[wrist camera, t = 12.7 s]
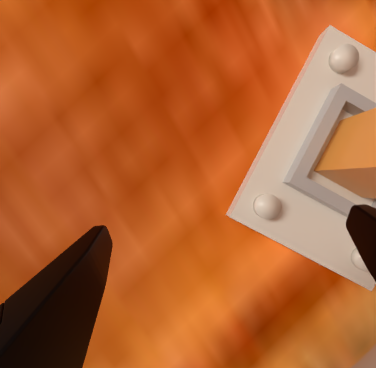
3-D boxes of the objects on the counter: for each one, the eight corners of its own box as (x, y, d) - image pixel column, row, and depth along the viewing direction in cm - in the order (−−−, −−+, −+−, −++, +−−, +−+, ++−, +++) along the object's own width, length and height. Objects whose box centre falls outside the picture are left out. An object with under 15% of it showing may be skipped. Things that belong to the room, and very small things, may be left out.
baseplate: (358, 283, 21) (384, 298, 19) (225, 214, 20) (233, 219, 18) (448, 111, 21) (486, 101, 19) (319, 35, 20) (340, 14, 18)
